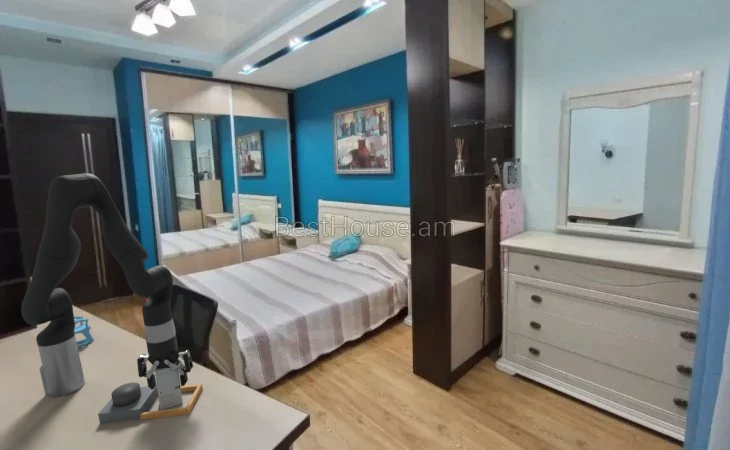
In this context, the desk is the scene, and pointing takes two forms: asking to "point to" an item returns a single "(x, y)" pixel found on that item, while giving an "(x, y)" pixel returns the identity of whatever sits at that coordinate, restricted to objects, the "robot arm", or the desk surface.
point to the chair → (83, 331)
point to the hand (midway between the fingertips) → (168, 386)
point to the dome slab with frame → (141, 403)
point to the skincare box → (168, 387)
